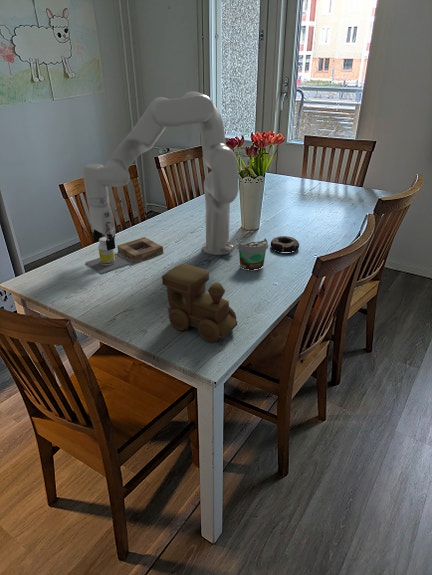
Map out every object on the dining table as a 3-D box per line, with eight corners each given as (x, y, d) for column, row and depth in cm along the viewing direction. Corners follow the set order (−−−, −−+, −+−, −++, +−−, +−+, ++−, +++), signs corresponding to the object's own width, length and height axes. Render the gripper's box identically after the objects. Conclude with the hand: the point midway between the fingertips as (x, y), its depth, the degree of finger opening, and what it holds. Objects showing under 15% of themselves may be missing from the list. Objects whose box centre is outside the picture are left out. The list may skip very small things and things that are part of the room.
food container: (245, 275, 151) (246, 250, 146) (236, 268, 155) (237, 243, 150) (273, 268, 156) (275, 243, 151) (264, 261, 160) (265, 237, 155)
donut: (264, 249, 171) (265, 240, 169) (281, 241, 178) (281, 232, 176) (287, 257, 164) (288, 248, 162) (304, 248, 171) (305, 239, 169)
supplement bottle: (102, 259, 160) (98, 236, 155) (116, 259, 160) (113, 235, 156) (99, 266, 155) (95, 241, 150) (114, 265, 156) (110, 241, 151)
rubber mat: (129, 264, 158) (129, 263, 157) (100, 274, 151) (100, 273, 150) (113, 254, 165) (113, 253, 165) (85, 263, 158) (85, 262, 158)
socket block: (163, 253, 166) (162, 246, 165) (135, 263, 159) (134, 255, 157) (145, 243, 175) (144, 237, 173) (118, 252, 167) (117, 245, 166)
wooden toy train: (162, 325, 123) (159, 276, 115) (185, 308, 131) (183, 261, 123) (219, 348, 114) (220, 296, 105) (240, 328, 122) (242, 278, 114)
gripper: (120, 204, 142) (125, 249, 151) (96, 192, 153) (102, 235, 162) (100, 209, 138) (107, 255, 146) (77, 197, 149) (84, 241, 158)
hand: (104, 245), depth 154 cm, fingers open, 9 cm apart
